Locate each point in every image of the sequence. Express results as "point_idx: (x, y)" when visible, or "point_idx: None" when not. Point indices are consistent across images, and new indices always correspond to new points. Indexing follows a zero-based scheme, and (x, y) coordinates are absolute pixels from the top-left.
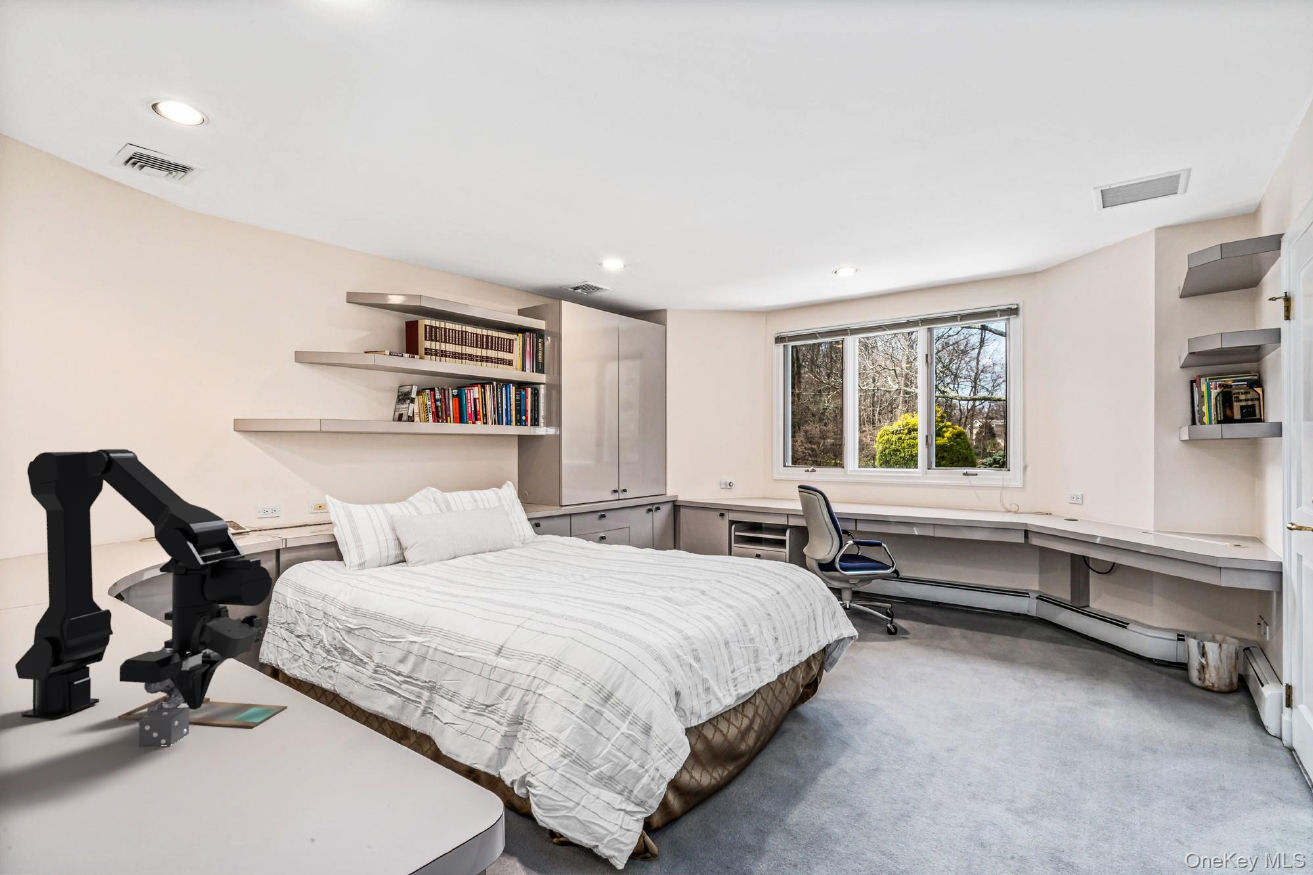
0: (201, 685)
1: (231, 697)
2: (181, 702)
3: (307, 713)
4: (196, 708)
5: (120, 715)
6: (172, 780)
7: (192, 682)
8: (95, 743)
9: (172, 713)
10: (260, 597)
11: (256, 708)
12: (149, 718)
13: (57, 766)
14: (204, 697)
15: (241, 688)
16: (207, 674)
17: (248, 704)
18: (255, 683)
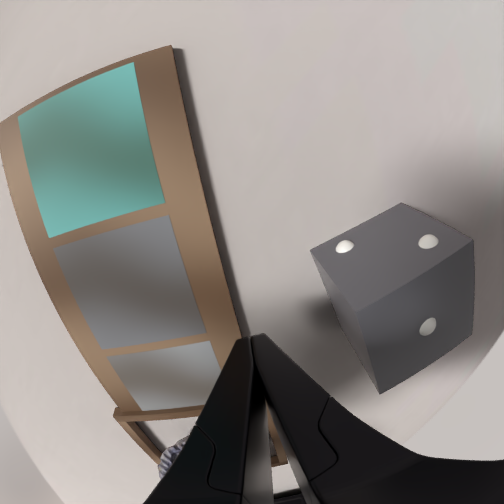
0: (255, 428)
1: (65, 383)
2: (185, 440)
3: (19, 16)
4: (264, 334)
5: (283, 464)
6: (488, 37)
7: (382, 436)
8: (388, 394)
9: (425, 302)
10: None
11: (48, 216)
12: (459, 328)
13: (468, 343)
14: (224, 366)
15: (35, 398)
16: (239, 486)
17: (49, 284)
18: (8, 390)
